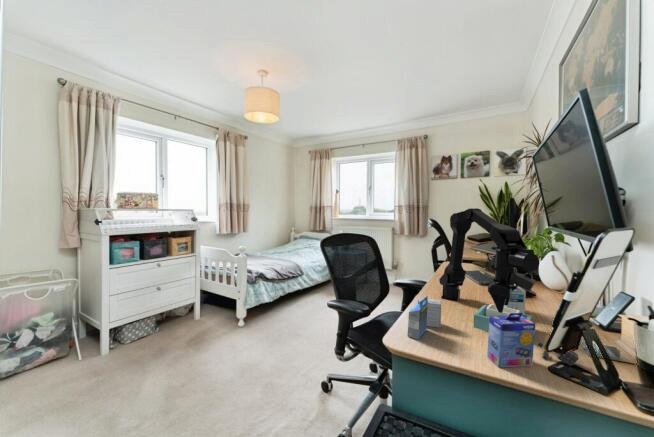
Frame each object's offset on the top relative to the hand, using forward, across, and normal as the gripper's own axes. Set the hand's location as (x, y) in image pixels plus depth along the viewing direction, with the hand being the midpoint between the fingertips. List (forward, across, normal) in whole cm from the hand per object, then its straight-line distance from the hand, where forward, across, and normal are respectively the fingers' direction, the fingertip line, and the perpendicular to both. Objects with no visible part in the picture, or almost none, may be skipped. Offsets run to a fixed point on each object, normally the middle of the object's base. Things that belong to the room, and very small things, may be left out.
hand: (503, 308), depth 96 cm
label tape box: (+7, -24, +20) cm, 32 cm away
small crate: (+6, 0, 0) cm, 6 cm away
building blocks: (+7, -13, -15) cm, 21 cm away
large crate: (+7, 0, 0) cm, 7 cm away
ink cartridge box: (+7, -23, -6) cm, 25 cm away
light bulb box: (+7, +19, +1) cm, 20 cm away
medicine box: (+7, -15, +20) cm, 26 cm away
